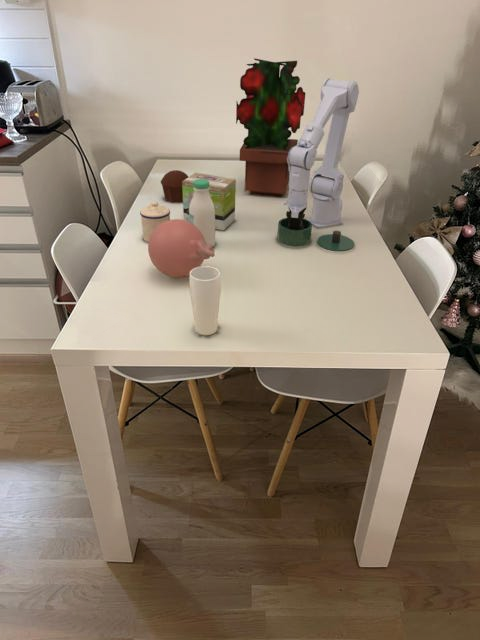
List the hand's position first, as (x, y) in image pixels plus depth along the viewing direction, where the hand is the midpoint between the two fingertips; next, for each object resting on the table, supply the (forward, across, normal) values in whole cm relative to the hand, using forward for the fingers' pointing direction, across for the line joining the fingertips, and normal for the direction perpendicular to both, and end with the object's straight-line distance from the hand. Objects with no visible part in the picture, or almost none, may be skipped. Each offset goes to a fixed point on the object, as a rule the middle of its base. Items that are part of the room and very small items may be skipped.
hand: (294, 231), depth 153 cm
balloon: (+4, +30, -27) cm, 40 cm away
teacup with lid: (+4, +6, -42) cm, 43 cm away
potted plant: (+3, -44, -15) cm, 47 cm away
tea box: (+4, -8, -29) cm, 31 cm away
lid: (+3, 0, +13) cm, 13 cm away
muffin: (+3, -27, -46) cm, 54 cm away
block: (+1, 0, 0) cm, 1 cm away
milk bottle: (+4, +10, -27) cm, 29 cm away
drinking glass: (+4, +53, -15) cm, 55 cm away
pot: (+3, 0, 0) cm, 3 cm away
